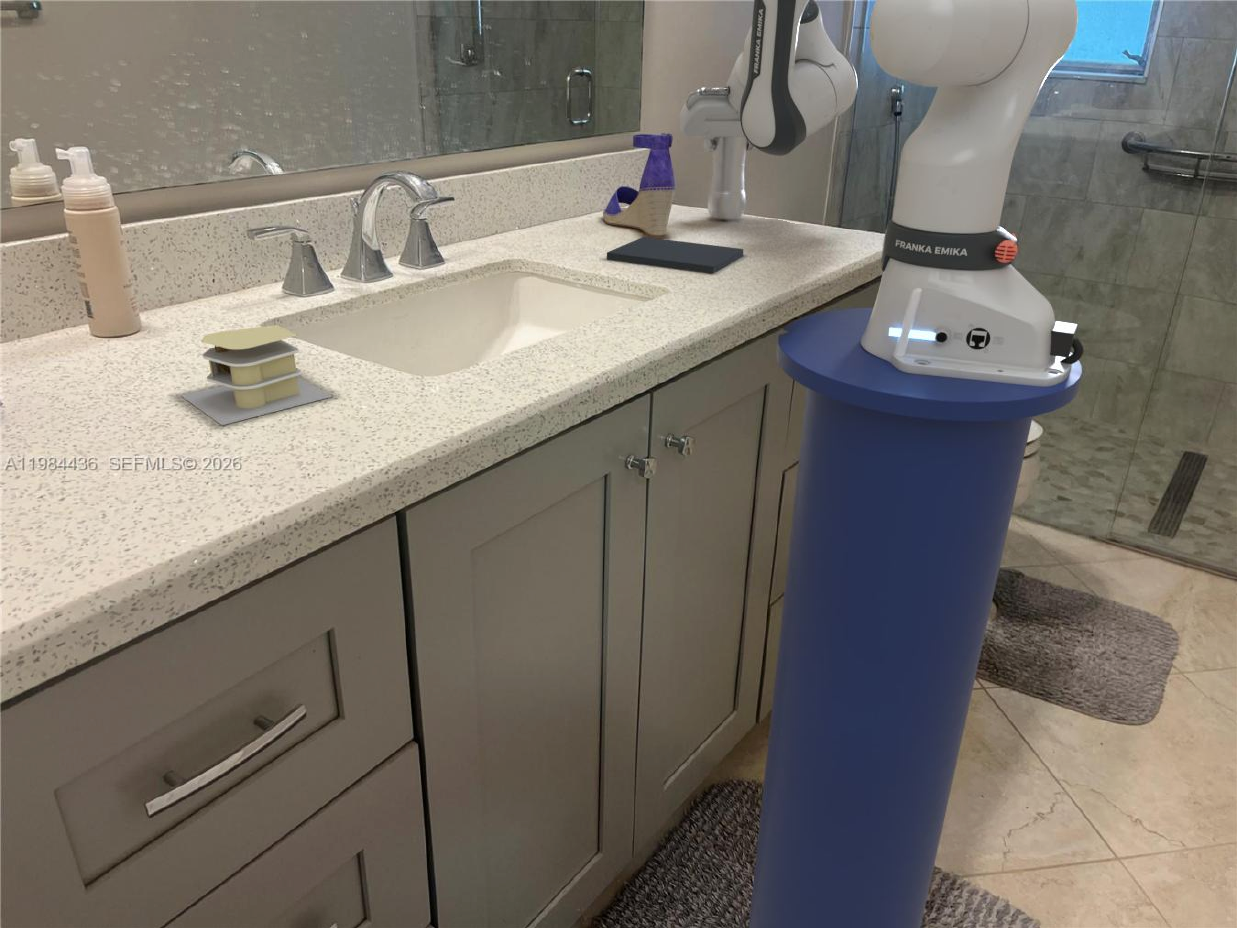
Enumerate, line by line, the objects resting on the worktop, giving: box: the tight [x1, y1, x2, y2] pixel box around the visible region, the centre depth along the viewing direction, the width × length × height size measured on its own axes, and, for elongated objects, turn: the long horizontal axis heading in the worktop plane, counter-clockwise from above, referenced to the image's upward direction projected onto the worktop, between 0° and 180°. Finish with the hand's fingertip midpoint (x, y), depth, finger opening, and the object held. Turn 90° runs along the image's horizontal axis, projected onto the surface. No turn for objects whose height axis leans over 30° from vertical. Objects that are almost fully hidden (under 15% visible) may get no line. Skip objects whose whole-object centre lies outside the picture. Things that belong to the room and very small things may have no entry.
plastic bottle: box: [706, 136, 748, 221], centre depth 157 cm, size 6×7×20 cm
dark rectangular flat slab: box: [606, 236, 745, 274], centre depth 135 cm, size 16×12×1 cm
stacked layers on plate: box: [180, 324, 333, 426], centre depth 83 cm, size 10×9×6 cm
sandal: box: [602, 132, 676, 239], centre depth 151 cm, size 8×20×15 cm, turn 15°
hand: (728, 147), depth 157 cm, fingers closed on plastic bottle, 6 cm apart
